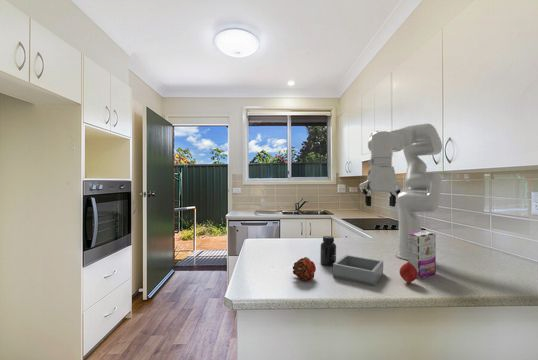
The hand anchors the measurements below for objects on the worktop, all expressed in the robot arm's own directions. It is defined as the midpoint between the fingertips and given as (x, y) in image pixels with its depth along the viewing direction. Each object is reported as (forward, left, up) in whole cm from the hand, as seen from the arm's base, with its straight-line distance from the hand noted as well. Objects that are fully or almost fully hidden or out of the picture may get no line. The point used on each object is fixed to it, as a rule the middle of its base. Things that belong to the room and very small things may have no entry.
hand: (380, 206), depth 103 cm
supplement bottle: (0, -22, -27) cm, 35 cm away
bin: (+6, -7, -27) cm, 29 cm away
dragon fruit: (+21, -23, -27) cm, 41 cm away
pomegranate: (+3, +10, -27) cm, 29 cm away
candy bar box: (-10, +13, -27) cm, 32 cm away
